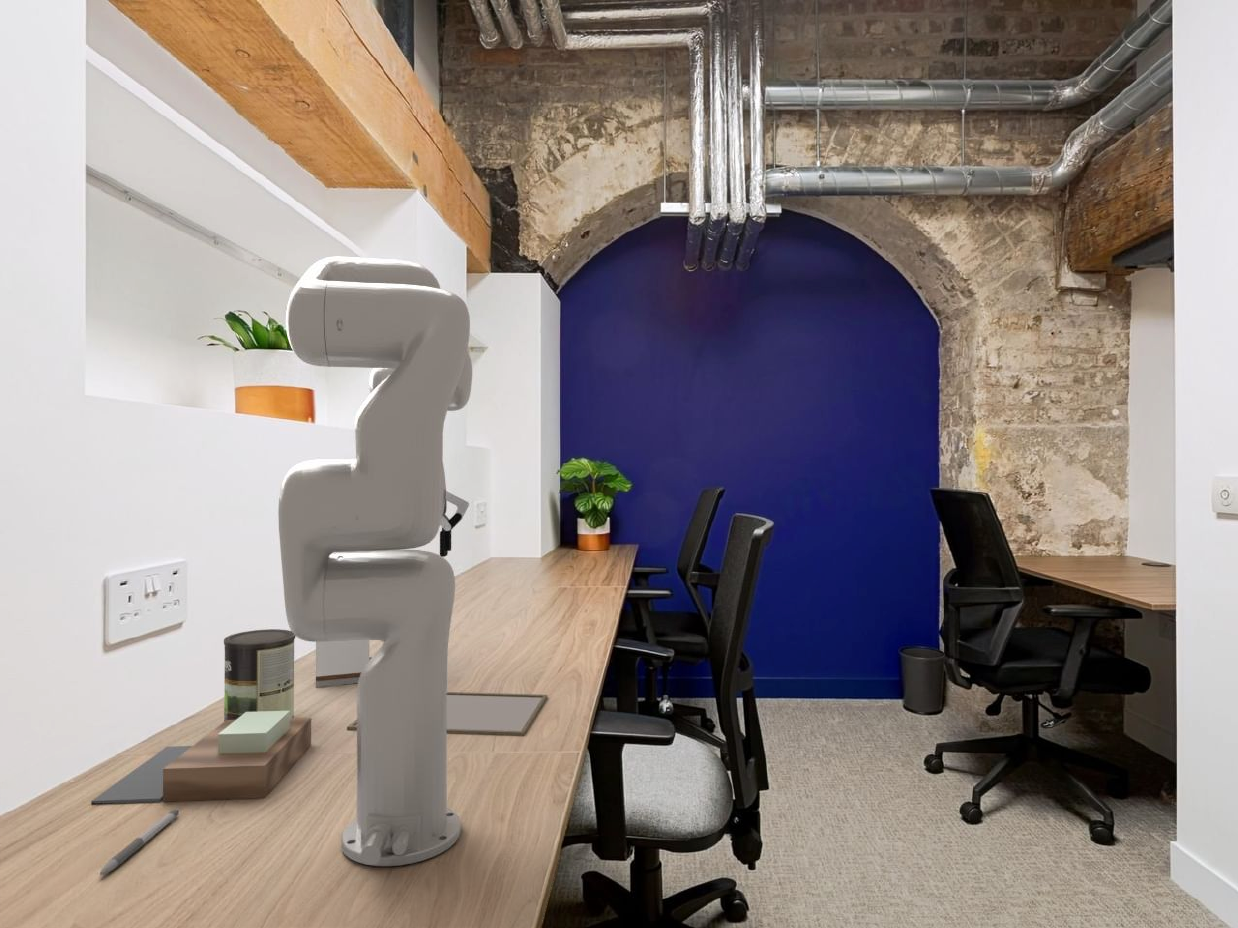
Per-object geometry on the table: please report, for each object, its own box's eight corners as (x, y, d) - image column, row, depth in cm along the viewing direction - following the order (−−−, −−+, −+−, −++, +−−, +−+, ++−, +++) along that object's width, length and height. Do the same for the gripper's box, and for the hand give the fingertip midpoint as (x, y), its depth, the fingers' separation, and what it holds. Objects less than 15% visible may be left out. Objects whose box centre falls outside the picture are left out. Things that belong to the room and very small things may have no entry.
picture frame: (346, 733, 118) (523, 739, 115) (346, 726, 118) (523, 732, 115) (394, 695, 137) (547, 700, 134) (394, 690, 137) (547, 694, 134)
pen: (182, 817, 89) (182, 805, 89) (105, 883, 75) (105, 868, 75) (173, 818, 89) (173, 805, 89) (95, 883, 75) (95, 869, 75)
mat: (160, 801, 92) (160, 798, 92) (91, 804, 92) (91, 800, 92) (224, 747, 110) (224, 744, 110) (166, 749, 110) (166, 746, 110)
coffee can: (219, 739, 114) (219, 645, 114) (228, 718, 123) (228, 631, 123) (293, 730, 117) (293, 640, 117) (296, 710, 127) (296, 627, 127)
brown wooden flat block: (264, 797, 93) (264, 765, 93) (162, 801, 92) (163, 768, 92) (311, 744, 111) (311, 717, 111) (226, 747, 110) (226, 719, 110)
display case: (375, 681, 144) (376, 498, 145) (315, 687, 140) (316, 499, 141) (371, 667, 155) (372, 496, 155) (316, 672, 151) (316, 497, 151)
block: (266, 752, 98) (266, 732, 98) (217, 753, 97) (217, 734, 97) (290, 728, 107) (290, 710, 107) (245, 729, 106) (246, 711, 106)
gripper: (349, 445, 114) (349, 559, 114) (465, 445, 115) (465, 558, 115) (363, 447, 122) (362, 554, 121) (471, 447, 123) (471, 553, 122)
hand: (412, 556), depth 118 cm, fingers open, 9 cm apart
